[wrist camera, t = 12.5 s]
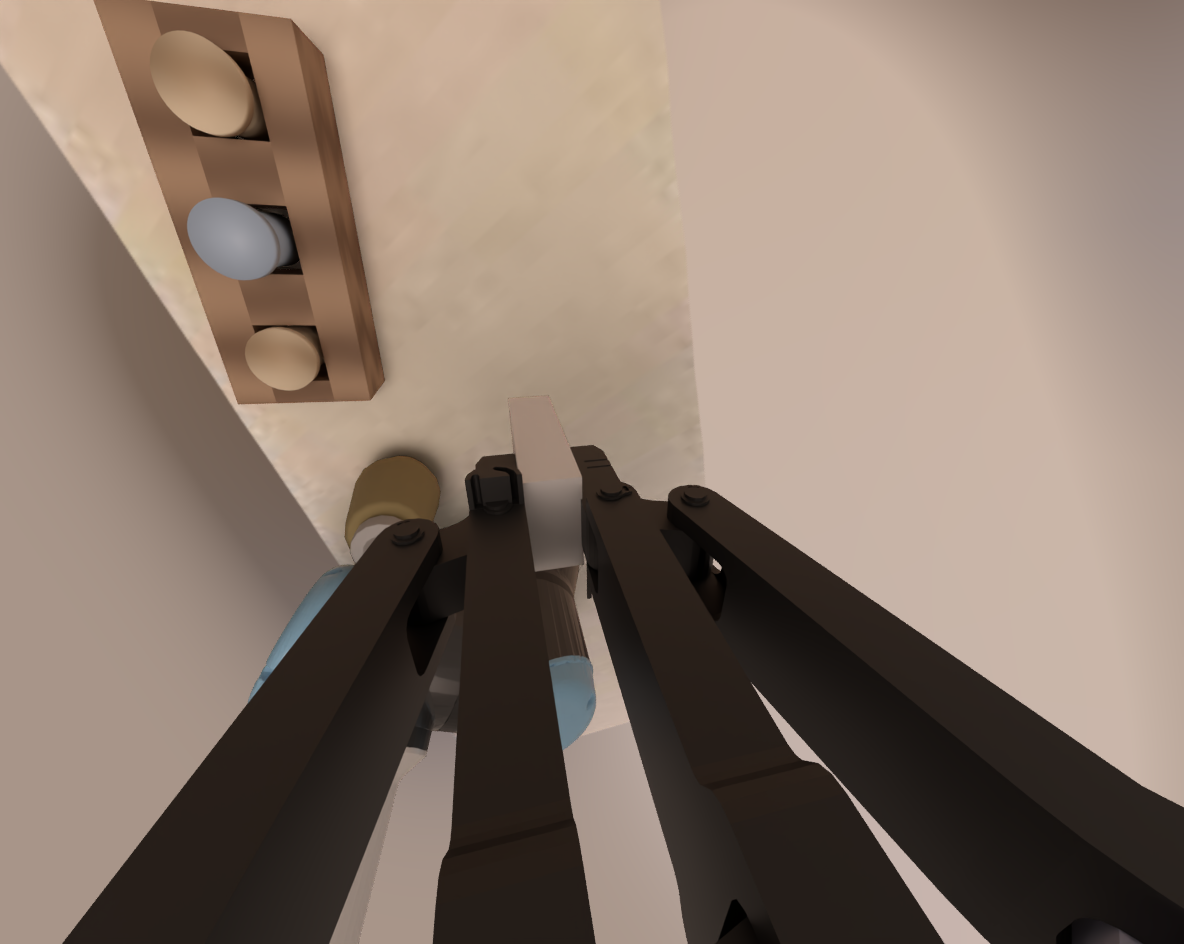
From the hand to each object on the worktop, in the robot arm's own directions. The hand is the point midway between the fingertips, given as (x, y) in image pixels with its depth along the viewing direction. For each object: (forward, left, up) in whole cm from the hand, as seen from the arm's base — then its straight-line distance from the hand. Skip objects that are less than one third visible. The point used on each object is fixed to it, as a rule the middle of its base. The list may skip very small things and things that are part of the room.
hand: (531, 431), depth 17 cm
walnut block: (+6, +17, -30) cm, 35 cm away
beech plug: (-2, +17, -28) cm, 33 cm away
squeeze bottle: (-17, +12, -30) cm, 36 cm away
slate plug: (+6, +17, -27) cm, 32 cm away
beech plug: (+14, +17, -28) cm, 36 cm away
